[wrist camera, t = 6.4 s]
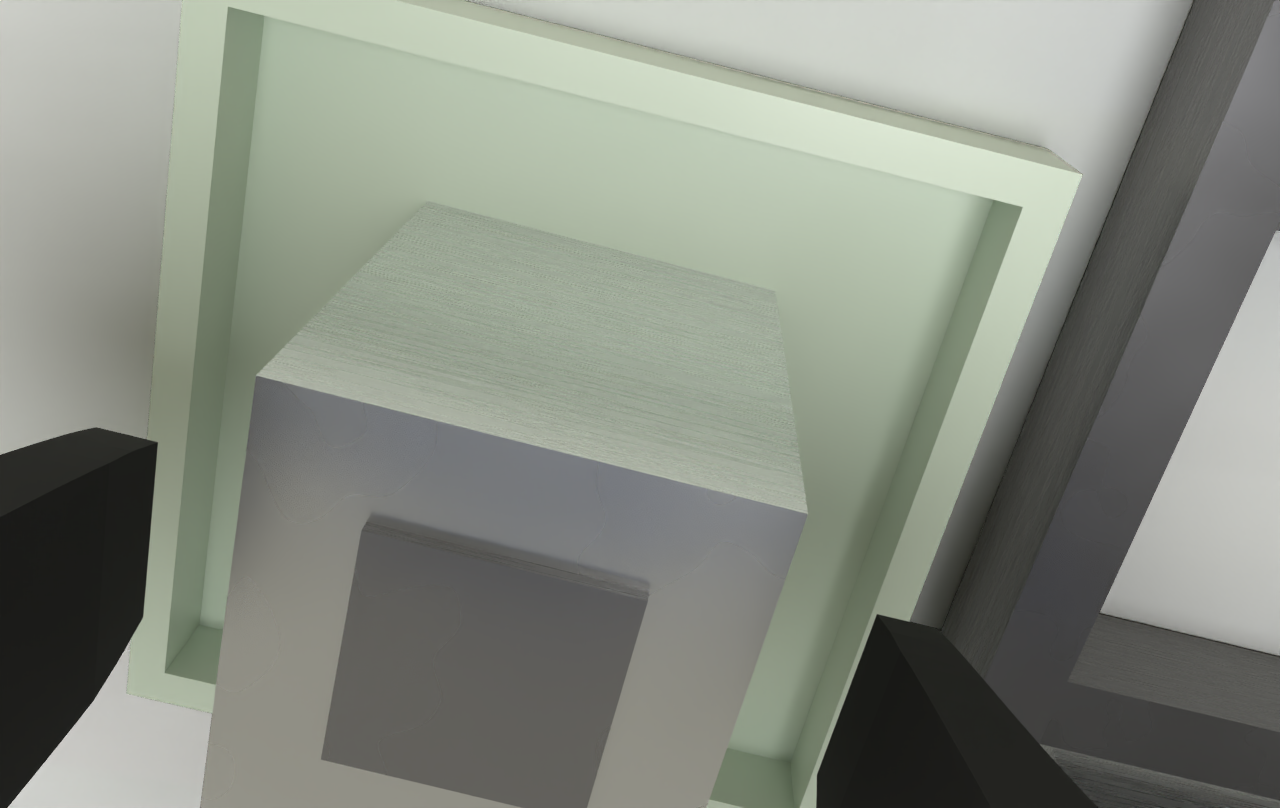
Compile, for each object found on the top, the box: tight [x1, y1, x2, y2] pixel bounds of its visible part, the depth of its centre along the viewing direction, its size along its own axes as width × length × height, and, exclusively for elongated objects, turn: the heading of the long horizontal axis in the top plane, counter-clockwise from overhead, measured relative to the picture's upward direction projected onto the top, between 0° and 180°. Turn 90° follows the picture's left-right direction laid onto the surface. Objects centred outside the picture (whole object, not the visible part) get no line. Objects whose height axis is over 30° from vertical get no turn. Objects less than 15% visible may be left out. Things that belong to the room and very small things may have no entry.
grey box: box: [200, 201, 808, 808], centre depth 13 cm, size 4×4×6 cm
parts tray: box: [126, 0, 1083, 808], centre depth 16 cm, size 10×10×2 cm
